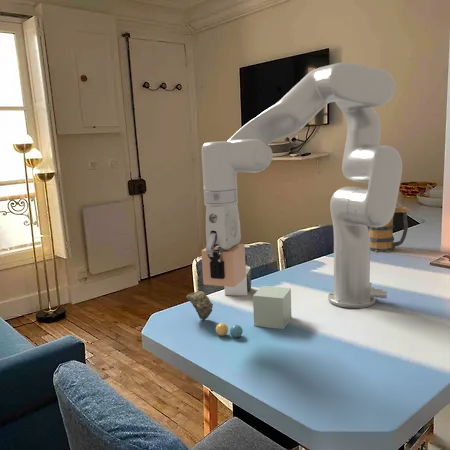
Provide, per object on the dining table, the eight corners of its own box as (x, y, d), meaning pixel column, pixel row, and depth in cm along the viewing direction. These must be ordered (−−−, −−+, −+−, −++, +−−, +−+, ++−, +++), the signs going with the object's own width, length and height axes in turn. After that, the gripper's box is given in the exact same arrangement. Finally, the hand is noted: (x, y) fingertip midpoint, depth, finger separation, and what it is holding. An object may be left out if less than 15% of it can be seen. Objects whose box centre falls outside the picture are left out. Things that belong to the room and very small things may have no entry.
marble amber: (229, 334, 107) (230, 322, 107) (225, 338, 104) (225, 326, 104) (218, 331, 108) (219, 319, 108) (213, 336, 106) (214, 324, 105)
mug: (369, 245, 184) (369, 197, 180) (413, 249, 174) (414, 199, 171) (358, 252, 174) (359, 202, 170) (404, 257, 164) (406, 204, 160)
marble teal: (241, 337, 106) (246, 327, 105) (236, 342, 103) (242, 331, 102) (230, 330, 107) (235, 320, 106) (226, 335, 104) (231, 325, 103)
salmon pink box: (246, 276, 105) (244, 244, 104) (234, 287, 98) (232, 252, 97) (216, 274, 108) (214, 242, 107) (203, 284, 101) (201, 250, 100)
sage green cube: (291, 317, 115) (290, 288, 113) (283, 329, 108) (282, 298, 106) (263, 314, 118) (262, 285, 116) (254, 325, 111) (252, 295, 109)
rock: (183, 290, 112) (198, 281, 113) (188, 301, 119) (202, 291, 120) (198, 313, 109) (213, 303, 110) (202, 322, 116) (216, 312, 117)
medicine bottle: (248, 296, 132) (246, 257, 129) (224, 295, 133) (222, 257, 131) (251, 288, 139) (250, 251, 136) (229, 287, 140) (227, 250, 138)
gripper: (221, 203, 90) (225, 286, 94) (249, 192, 106) (252, 263, 109) (188, 203, 93) (193, 283, 96) (220, 192, 109) (224, 261, 112)
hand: (224, 272), depth 103 cm, fingers closed on salmon pink box, 7 cm apart
